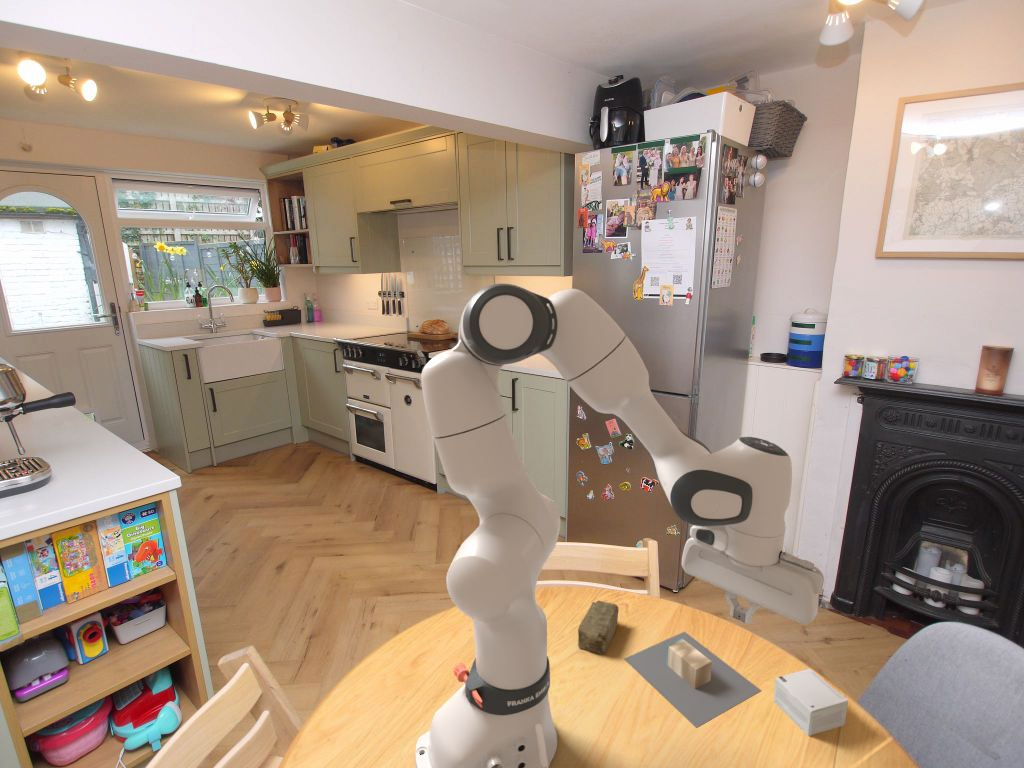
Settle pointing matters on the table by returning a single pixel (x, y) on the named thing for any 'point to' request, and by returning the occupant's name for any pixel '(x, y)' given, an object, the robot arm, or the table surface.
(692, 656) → the birch block
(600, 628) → the stone block
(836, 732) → the table surface
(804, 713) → the small box
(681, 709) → the rubber mat
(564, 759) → the table surface
